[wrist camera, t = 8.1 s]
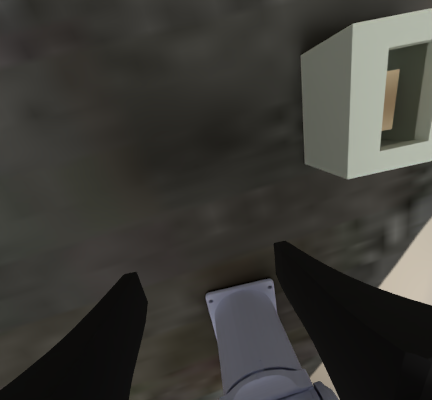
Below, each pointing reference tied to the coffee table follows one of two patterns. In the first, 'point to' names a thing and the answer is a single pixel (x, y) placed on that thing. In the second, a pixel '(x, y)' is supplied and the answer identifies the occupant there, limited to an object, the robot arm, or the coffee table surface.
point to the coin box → (369, 96)
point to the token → (390, 98)
